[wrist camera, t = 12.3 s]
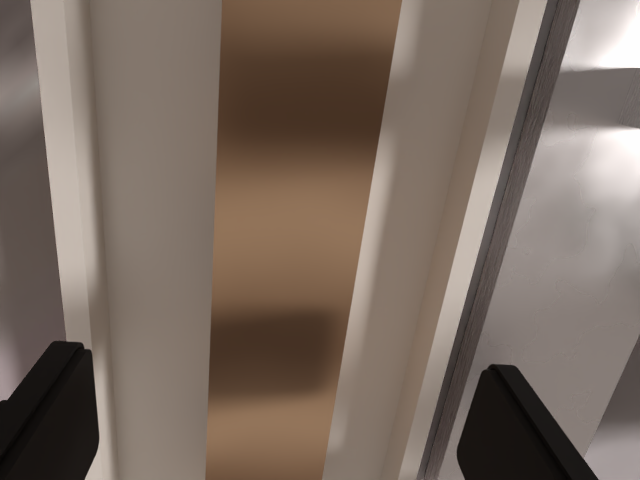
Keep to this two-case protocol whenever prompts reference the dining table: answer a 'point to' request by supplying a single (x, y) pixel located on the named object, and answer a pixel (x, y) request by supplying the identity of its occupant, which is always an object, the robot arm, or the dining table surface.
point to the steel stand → (563, 235)
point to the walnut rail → (289, 222)
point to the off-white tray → (199, 209)
